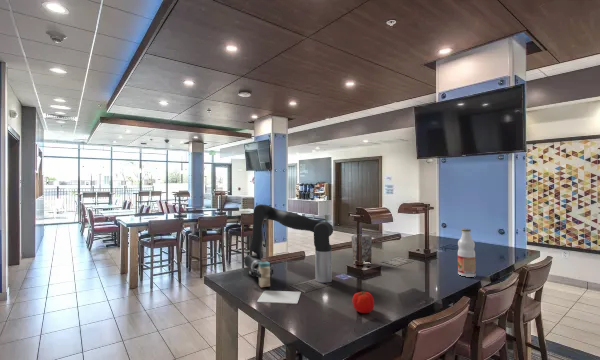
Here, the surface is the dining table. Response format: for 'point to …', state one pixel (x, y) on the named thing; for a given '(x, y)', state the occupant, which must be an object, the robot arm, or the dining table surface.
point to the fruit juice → (466, 255)
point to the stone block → (365, 248)
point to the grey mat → (279, 297)
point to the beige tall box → (264, 274)
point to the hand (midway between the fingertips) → (265, 275)
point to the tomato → (363, 302)
